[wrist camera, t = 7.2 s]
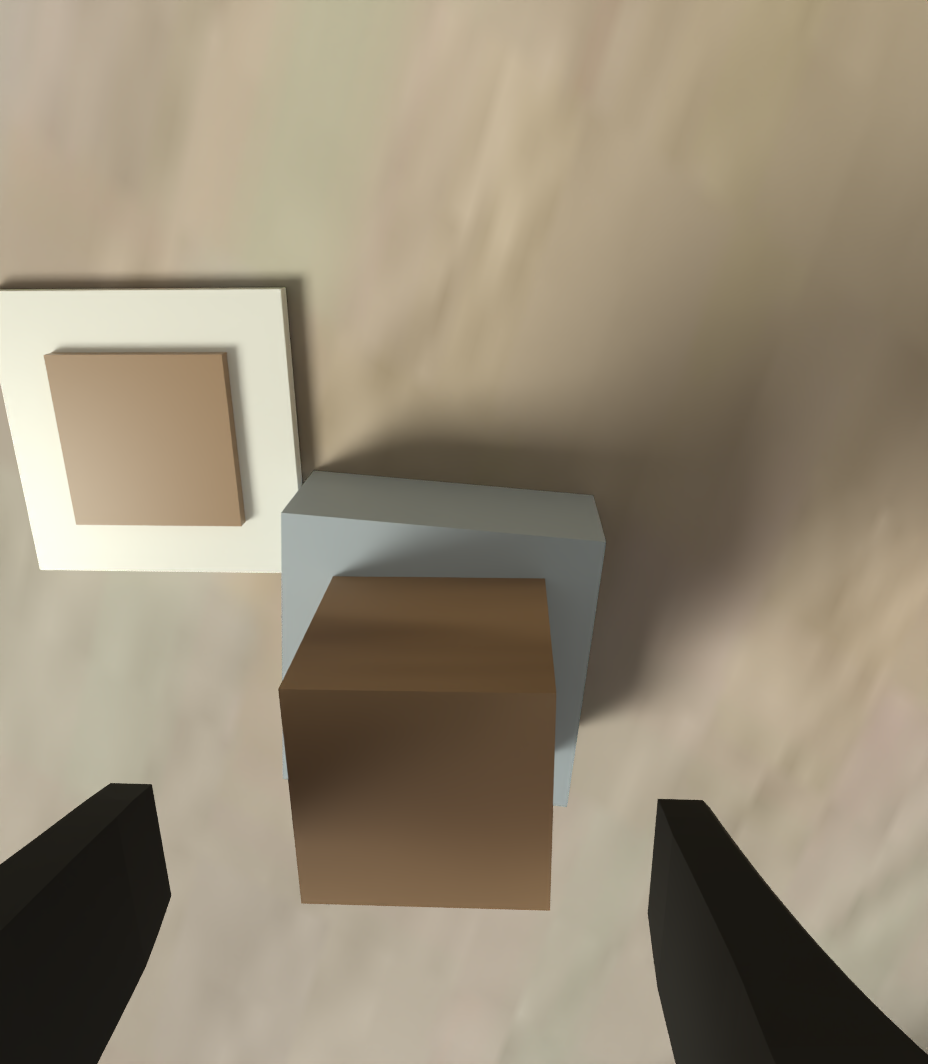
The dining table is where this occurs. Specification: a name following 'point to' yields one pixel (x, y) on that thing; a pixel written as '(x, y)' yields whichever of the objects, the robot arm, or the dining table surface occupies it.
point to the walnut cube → (423, 744)
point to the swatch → (152, 425)
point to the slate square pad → (451, 560)
